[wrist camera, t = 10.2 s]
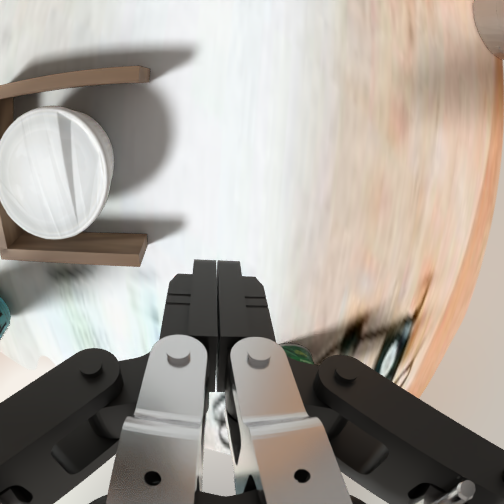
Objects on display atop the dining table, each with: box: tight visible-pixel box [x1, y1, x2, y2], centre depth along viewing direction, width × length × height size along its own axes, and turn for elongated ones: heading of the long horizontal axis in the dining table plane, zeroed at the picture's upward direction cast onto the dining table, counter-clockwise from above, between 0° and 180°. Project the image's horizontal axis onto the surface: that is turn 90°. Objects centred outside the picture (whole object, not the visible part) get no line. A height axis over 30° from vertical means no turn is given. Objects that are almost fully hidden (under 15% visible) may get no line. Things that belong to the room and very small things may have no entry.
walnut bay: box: [0, 66, 150, 267], centre depth 23 cm, size 16×15×4 cm
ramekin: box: [0, 106, 114, 239], centre depth 23 cm, size 11×11×5 cm
